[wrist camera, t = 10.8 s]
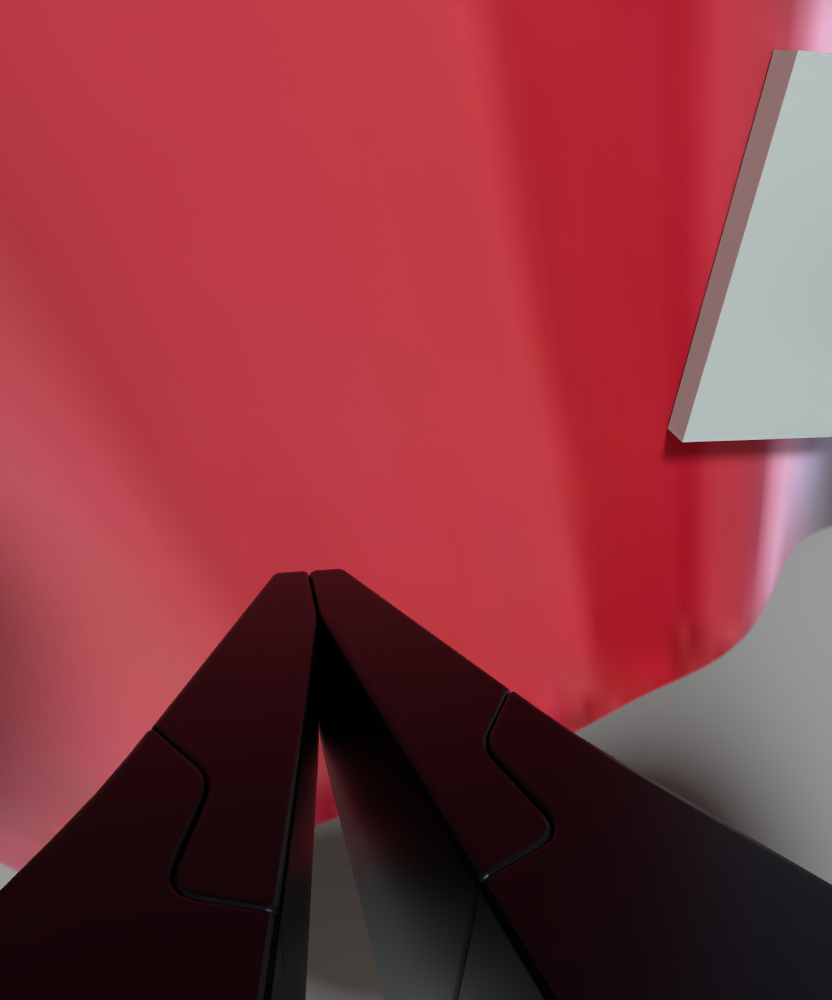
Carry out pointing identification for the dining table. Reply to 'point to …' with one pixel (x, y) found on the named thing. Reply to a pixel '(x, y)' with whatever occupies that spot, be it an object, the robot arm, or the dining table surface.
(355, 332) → the dining table surface
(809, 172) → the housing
